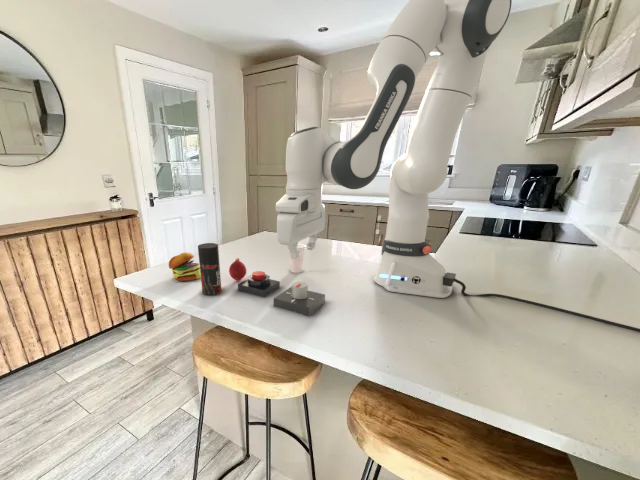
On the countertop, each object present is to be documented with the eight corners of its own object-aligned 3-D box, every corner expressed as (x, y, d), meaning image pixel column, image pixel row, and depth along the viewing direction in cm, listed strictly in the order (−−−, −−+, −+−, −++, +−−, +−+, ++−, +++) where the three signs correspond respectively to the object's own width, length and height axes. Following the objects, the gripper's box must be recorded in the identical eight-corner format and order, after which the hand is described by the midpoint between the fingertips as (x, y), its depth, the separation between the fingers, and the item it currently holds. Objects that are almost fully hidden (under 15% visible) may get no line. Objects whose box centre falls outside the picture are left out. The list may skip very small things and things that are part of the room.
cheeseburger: (193, 283, 102) (183, 255, 99) (168, 287, 107) (158, 260, 104) (208, 273, 111) (200, 247, 108) (185, 277, 116) (176, 251, 113)
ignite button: (267, 277, 97) (267, 272, 96) (260, 281, 94) (260, 276, 93) (257, 275, 99) (257, 270, 98) (249, 279, 96) (249, 274, 95)
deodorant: (218, 296, 93) (214, 248, 87) (199, 295, 94) (194, 248, 88) (223, 288, 98) (220, 243, 93) (205, 288, 99) (201, 242, 93)
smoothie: (307, 270, 113) (309, 232, 108) (300, 275, 108) (301, 236, 103) (292, 267, 116) (293, 230, 111) (284, 272, 111) (284, 234, 106)
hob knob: (296, 291, 89) (296, 279, 87) (310, 294, 86) (310, 282, 85) (289, 297, 85) (289, 284, 84) (303, 300, 83) (304, 287, 81)
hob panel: (324, 302, 88) (325, 293, 86) (309, 316, 80) (309, 307, 79) (291, 294, 93) (291, 286, 92) (273, 306, 86) (273, 297, 85)
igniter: (279, 287, 98) (279, 276, 97) (264, 297, 92) (264, 285, 90) (254, 281, 104) (254, 270, 102) (237, 290, 97) (237, 278, 95)
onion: (244, 284, 101) (243, 261, 98) (227, 283, 102) (226, 260, 99) (248, 278, 107) (247, 256, 103) (232, 277, 108) (231, 255, 105)
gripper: (310, 195, 86) (310, 243, 92) (271, 205, 71) (273, 262, 76) (332, 195, 83) (330, 245, 88) (295, 206, 68) (295, 266, 73)
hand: (303, 253), depth 82 cm, fingers open, 8 cm apart
